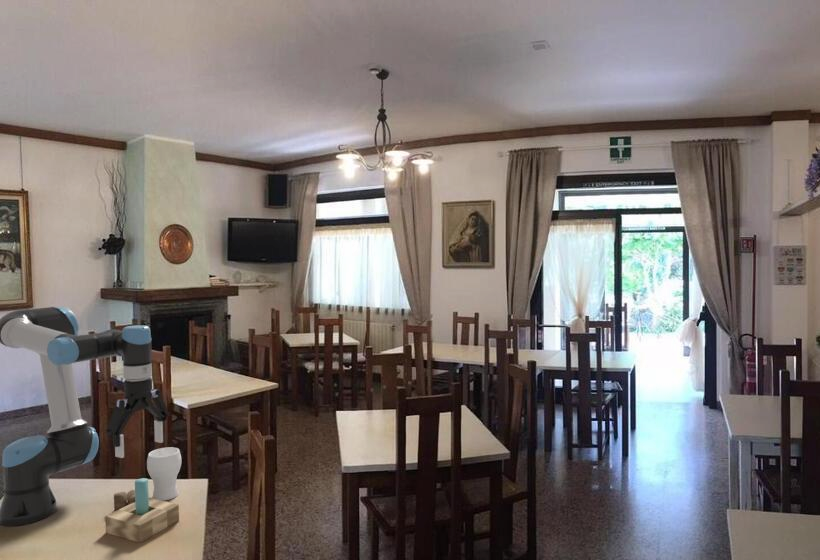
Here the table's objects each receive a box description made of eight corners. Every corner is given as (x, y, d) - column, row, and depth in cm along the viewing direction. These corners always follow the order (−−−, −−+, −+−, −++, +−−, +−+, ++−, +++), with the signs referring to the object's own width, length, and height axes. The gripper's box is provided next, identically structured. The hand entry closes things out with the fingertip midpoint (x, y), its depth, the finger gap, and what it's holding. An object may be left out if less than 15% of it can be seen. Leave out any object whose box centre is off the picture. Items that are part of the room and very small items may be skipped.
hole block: (105, 532, 163) (105, 516, 163) (146, 512, 176) (145, 496, 176) (139, 542, 158) (139, 525, 157) (179, 520, 170) (178, 504, 170)
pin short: (111, 511, 177) (111, 495, 177) (121, 506, 180) (121, 491, 180) (119, 513, 176) (119, 497, 175) (129, 508, 179) (129, 493, 179)
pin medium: (139, 510, 179) (135, 501, 185) (143, 499, 179) (139, 490, 186) (127, 509, 177) (124, 500, 183) (131, 498, 177) (128, 489, 184)
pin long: (133, 528, 166) (132, 481, 165) (143, 523, 169) (142, 477, 168) (142, 530, 164) (140, 483, 164) (152, 525, 168) (150, 479, 167)
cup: (169, 504, 181) (168, 458, 181) (140, 501, 184) (139, 456, 183) (188, 490, 192) (187, 447, 191) (161, 488, 194) (160, 445, 193)
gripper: (108, 389, 152) (110, 466, 153) (180, 371, 174) (182, 437, 175) (89, 386, 155) (92, 461, 156) (163, 368, 177) (165, 434, 179)
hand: (140, 449), depth 166 cm, fingers open, 13 cm apart
